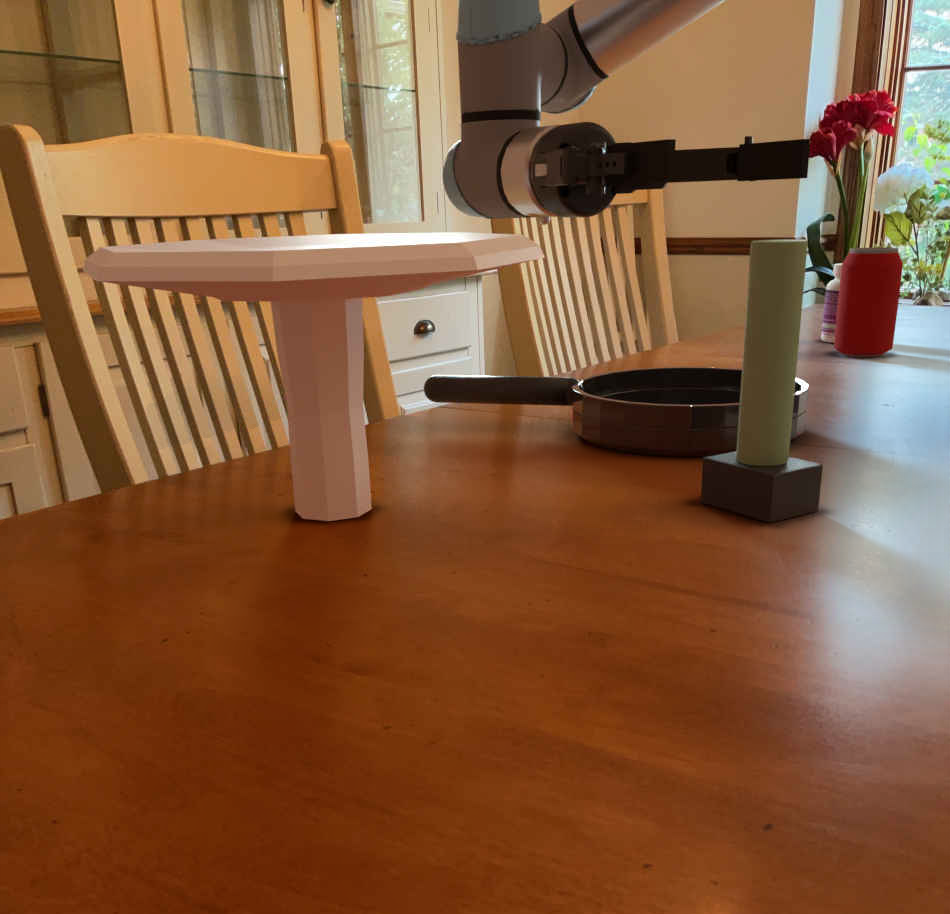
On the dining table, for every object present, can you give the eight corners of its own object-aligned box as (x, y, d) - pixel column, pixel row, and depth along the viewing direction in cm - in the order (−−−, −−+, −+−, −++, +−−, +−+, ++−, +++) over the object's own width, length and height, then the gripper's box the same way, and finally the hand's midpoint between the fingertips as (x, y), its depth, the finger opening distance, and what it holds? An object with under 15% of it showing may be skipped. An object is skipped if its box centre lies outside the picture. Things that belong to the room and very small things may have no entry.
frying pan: (804, 413, 94) (808, 368, 92) (802, 463, 77) (808, 409, 75) (594, 408, 99) (594, 365, 98) (549, 453, 82) (549, 402, 81)
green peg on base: (699, 502, 68) (714, 241, 62) (748, 491, 70) (767, 238, 64) (769, 523, 63) (792, 243, 57) (818, 511, 66) (846, 239, 59)
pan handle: (585, 403, 91) (586, 375, 90) (580, 408, 89) (580, 379, 88) (429, 399, 95) (428, 372, 94) (420, 404, 93) (419, 376, 92)
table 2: (35, 518, 69) (-18, 250, 63) (362, 444, 87) (347, 231, 81) (284, 622, 51) (245, 258, 44) (633, 502, 69) (641, 231, 62)
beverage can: (896, 351, 127) (909, 247, 122) (885, 359, 122) (899, 250, 117) (839, 349, 130) (850, 247, 126) (826, 356, 125) (837, 250, 120)
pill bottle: (848, 345, 134) (857, 265, 130) (812, 341, 137) (819, 264, 134) (871, 340, 137) (880, 262, 133) (835, 337, 141) (843, 261, 137)
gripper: (667, 212, 100) (850, 209, 83) (444, 223, 87) (606, 222, 71) (670, 125, 97) (860, 104, 80) (440, 124, 85) (607, 98, 68)
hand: (741, 159), depth 75 cm, fingers open, 13 cm apart
